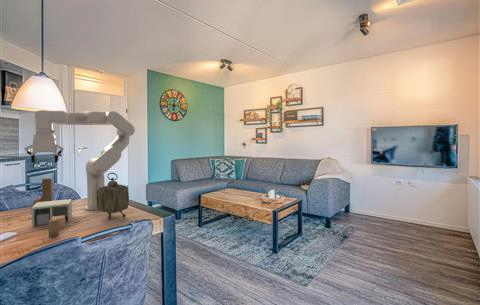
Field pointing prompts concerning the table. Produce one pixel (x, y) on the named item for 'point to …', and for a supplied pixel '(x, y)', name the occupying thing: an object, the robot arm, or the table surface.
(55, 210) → the cubby shelf
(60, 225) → the corded block
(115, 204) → the tabletop clock
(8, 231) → the table surface
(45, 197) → the wooden block
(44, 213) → the plain block
